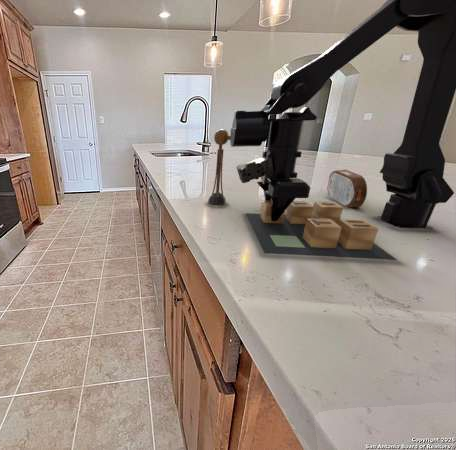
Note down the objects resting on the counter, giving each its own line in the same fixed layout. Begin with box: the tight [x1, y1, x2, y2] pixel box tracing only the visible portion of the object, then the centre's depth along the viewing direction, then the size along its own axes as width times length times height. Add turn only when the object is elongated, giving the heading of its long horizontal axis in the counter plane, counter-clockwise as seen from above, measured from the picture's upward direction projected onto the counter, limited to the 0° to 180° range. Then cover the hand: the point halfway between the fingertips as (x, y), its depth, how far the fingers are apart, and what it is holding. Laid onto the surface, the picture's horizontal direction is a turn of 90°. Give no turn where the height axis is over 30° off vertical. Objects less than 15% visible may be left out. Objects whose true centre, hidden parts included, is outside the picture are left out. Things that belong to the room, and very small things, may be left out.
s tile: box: [259, 200, 286, 223], centre depth 55 cm, size 4×4×4 cm
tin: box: [327, 169, 368, 208], centre depth 65 cm, size 15×3×8 cm, turn 168°
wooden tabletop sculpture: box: [207, 128, 230, 206], centre depth 65 cm, size 6×5×20 cm
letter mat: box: [245, 212, 398, 261], centre depth 49 cm, size 20×20×1 cm
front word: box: [303, 218, 379, 250], centre depth 43 cm, size 10×4×4 cm, turn 80°
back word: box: [285, 200, 344, 224], centre depth 53 cm, size 10×4×4 cm, turn 80°
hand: (271, 217), depth 55 cm, fingers closed on s tile, 4 cm apart
